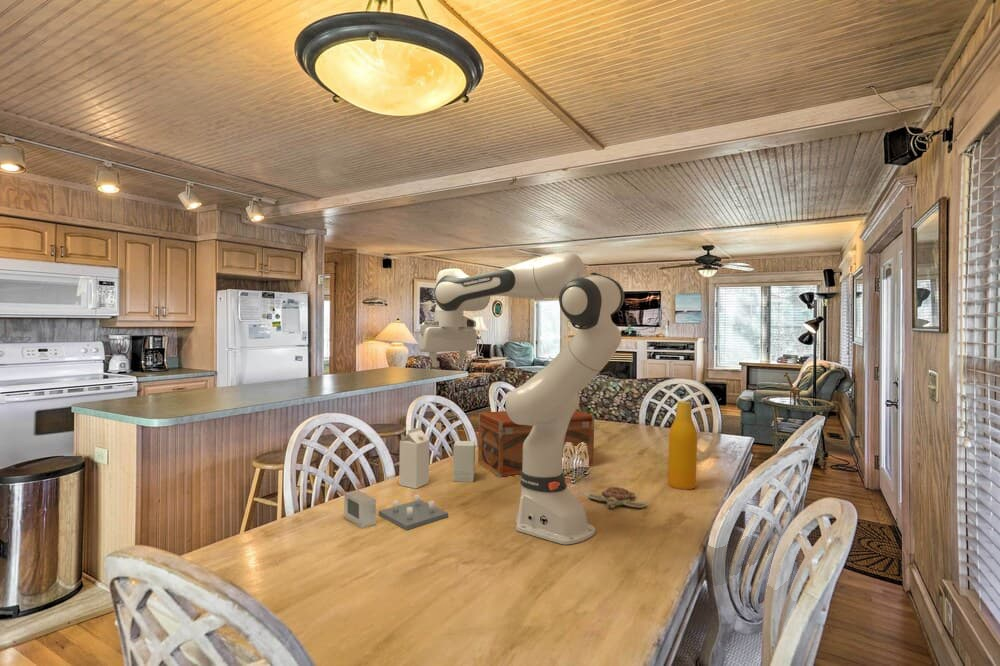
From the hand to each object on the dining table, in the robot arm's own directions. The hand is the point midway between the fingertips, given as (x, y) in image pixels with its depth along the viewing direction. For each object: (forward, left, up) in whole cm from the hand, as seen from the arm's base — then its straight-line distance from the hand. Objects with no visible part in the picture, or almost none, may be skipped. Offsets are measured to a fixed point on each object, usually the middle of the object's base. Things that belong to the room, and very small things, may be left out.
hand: (447, 366), depth 158 cm
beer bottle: (-43, -70, -42) cm, 92 cm away
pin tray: (-5, +15, -42) cm, 44 cm away
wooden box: (+8, -50, -42) cm, 66 cm away
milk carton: (+18, -1, -42) cm, 46 cm away
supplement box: (+12, -18, -42) cm, 47 cm away
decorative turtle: (-37, -39, -42) cm, 68 cm away
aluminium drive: (+2, +28, -42) cm, 50 cm away
